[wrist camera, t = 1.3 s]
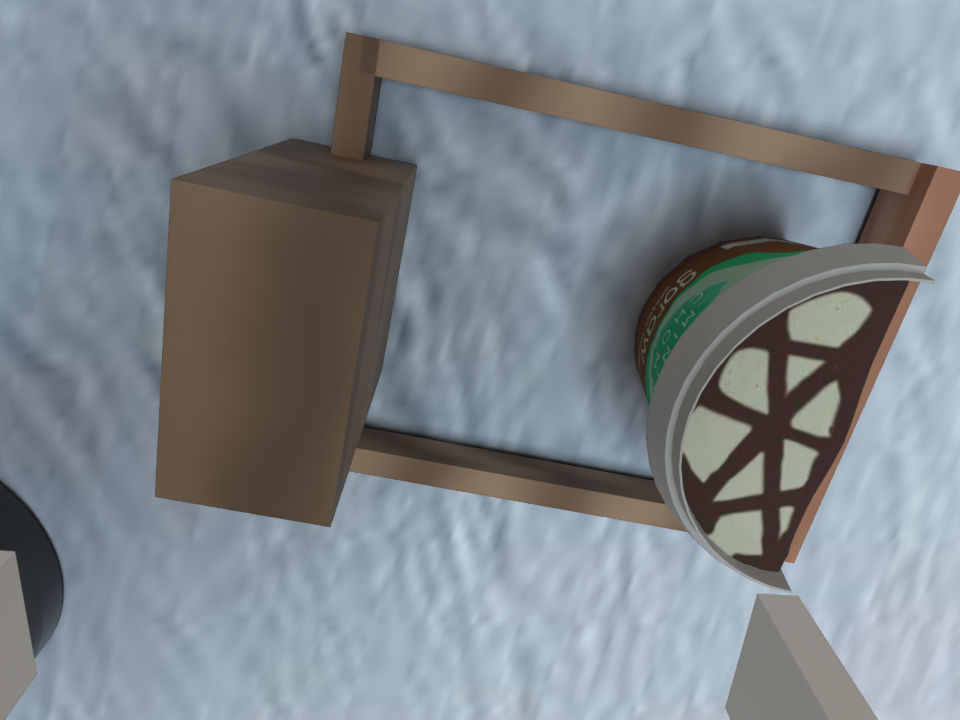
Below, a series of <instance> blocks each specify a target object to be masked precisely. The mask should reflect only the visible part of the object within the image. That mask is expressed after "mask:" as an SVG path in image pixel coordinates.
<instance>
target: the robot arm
mask: <svg viewBox="0 0 960 720" xmlns="http://www.w3.org/2000/svg"><path fill="white" fill-rule="evenodd" d="M62 597H63V590H62V579H61V573H60V569H59V565H58V562H57V559H56V556H55V554H54V551H53V549H52V547H51V545H50V543H49V541H48V539H47V537H46V535H45V534H44V532H43V530H42V529H41V527H40V526H39V524H38V523H37V522H36V520H35V519H34V518H33V516H32V515H31V514H30V513H29V511H28V510H27V509H26V508H25V507H24V506H23V505H22V504H21V503H20V501H19V500H18V499H16V498H15V497H14V496H13V495H12V494H11V493H10V492H9V491H8V490H7V489H6V488H4V487H3V486H2V485H1V484H0V720H5V718H6V717H7V716H8V714H9V713H10V711H11V710H12V709H13V707H14V706H15V704H16V703H17V702H18V700H19V699H20V697H21V696H22V695H23V693H24V692H25V690H26V689H27V688H28V686H29V685H30V683H31V682H32V681H33V679H34V678H35V676H36V675H37V671H36V666H35V660H34V658H35V657H36V656H37V654H38V653H39V652H40V651H41V649H42V648H43V647H44V645H45V644H46V643H47V641H48V640H49V638H50V637H51V635H52V634H53V632H54V630H55V628H56V625H57V623H58V620H59V616H60V613H61V607H62ZM725 708H726V710H727V713H728V715H729V717H730V720H878V719H877V717H876V716H875V714H874V713H873V711H872V709H871V708H870V706H869V705H868V703H867V702H866V700H865V699H864V697H863V695H862V694H861V692H860V691H859V689H858V688H857V686H856V685H855V683H854V682H853V680H852V678H851V677H850V675H849V674H848V672H847V671H846V669H845V668H844V666H843V665H842V663H841V661H840V660H839V658H838V657H837V655H836V654H835V652H834V651H833V649H832V647H831V646H830V644H829V643H828V641H827V640H826V638H825V637H824V635H823V634H822V632H821V630H820V629H819V627H818V626H817V624H816V623H815V621H814V620H813V618H812V617H811V615H810V613H809V612H808V610H807V609H806V607H805V606H804V604H803V603H802V601H801V599H800V598H799V596H790V595H772V594H757V597H756V600H755V604H754V607H753V611H752V614H751V618H750V622H749V625H748V629H747V632H746V636H745V639H744V643H743V646H742V650H741V654H740V657H739V661H738V664H737V668H736V671H735V675H734V678H733V682H732V686H731V689H730V693H729V696H728V700H727V703H726V707H725Z"/></svg>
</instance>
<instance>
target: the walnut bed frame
mask: <svg viewBox="0 0 960 720" xmlns="http://www.w3.org/2000/svg"><path fill="white" fill-rule="evenodd" d="M382 78H387V79H391V80H396V81H400V82H405V83H409V84H414V85H418V86H423V87H427V88H431V89H436V90H440V91H445V92H449V93H454V94H458V95H463V96H467V97H472V98H476V99H481V100H485V101H490V102H494V103H499V104H503V105H508V106H512V107H516V108H521V109H525V110H530V111H534V112H539V113H543V114H548V115H552V116H557V117H561V118H566V119H570V120H575V121H579V122H584V123H588V124H593V125H597V126H602V127H606V128H610V129H615V130H619V131H624V132H628V133H633V134H637V135H642V136H646V137H651V138H655V139H660V140H664V141H669V142H673V143H678V144H682V145H687V146H691V147H696V148H700V149H704V150H709V151H713V152H718V153H722V154H727V155H731V156H736V157H740V158H745V159H749V160H754V161H758V162H763V163H767V164H772V165H776V166H781V167H785V168H790V169H794V170H798V171H803V172H807V173H812V174H816V175H821V176H825V177H830V178H834V179H839V180H843V181H848V182H852V183H857V184H861V185H866V186H870V187H875V188H879V189H880V191H879V193H878V196H877V198H876V201H875V203H874V206H873V208H872V210H871V213H870V215H869V218H868V220H867V223H866V225H865V228H864V230H863V233H862V235H861V237H860V240H859V242H858V244H872V243H876V244H884V245H892V246H900V247H905V248H906V249H907V250H908V251H909V252H911V253H912V254H913V255H914V256H915V257H916V258H917V259H918V260H919V261H921V262H922V263H923V264H924V265H925V266H926V268H927V265H928V263H929V261H930V259H931V256H932V254H933V252H934V250H935V248H936V245H937V243H938V241H939V239H940V236H941V234H942V232H943V230H944V227H945V225H946V223H947V221H948V219H949V216H950V214H951V212H952V210H953V207H954V205H955V203H956V201H957V198H958V196H959V194H960V171H957V170H952V169H948V168H944V167H939V166H934V165H929V164H924V163H919V162H915V161H911V160H906V159H902V158H897V157H893V156H889V155H884V154H880V153H875V152H871V151H867V150H862V149H858V148H853V147H849V146H845V145H840V144H836V143H831V142H827V141H823V140H818V139H814V138H809V137H805V136H801V135H796V134H792V133H787V132H783V131H779V130H774V129H770V128H765V127H761V126H757V125H752V124H748V123H744V122H739V121H735V120H730V119H726V118H722V117H717V116H713V115H708V114H704V113H700V112H695V111H691V110H686V109H682V108H678V107H673V106H669V105H664V104H660V103H656V102H651V101H647V100H642V99H638V98H634V97H629V96H625V95H620V94H616V93H612V92H607V91H603V90H598V89H594V88H590V87H585V86H581V85H576V84H572V83H568V82H563V81H559V80H555V79H550V78H546V77H541V76H537V75H533V74H528V73H524V72H519V71H515V70H511V69H506V68H502V67H497V66H493V65H489V64H484V63H480V62H475V61H471V60H467V59H462V58H458V57H453V56H449V55H445V54H440V53H436V52H431V51H427V50H423V49H418V48H414V47H409V46H405V45H401V44H396V43H392V42H387V41H383V40H379V39H374V38H370V37H365V36H361V35H357V34H352V33H348V32H346V38H345V46H344V53H343V61H342V69H341V76H340V84H339V92H338V100H337V107H336V115H335V123H334V131H333V138H332V146H331V147H329V146H324V145H320V144H315V143H310V142H306V141H301V140H296V139H290V140H287V141H284V142H281V143H278V144H275V145H272V146H269V147H266V148H263V149H260V150H257V151H254V152H251V153H248V154H245V155H242V156H239V157H236V158H233V159H230V160H227V161H224V162H221V163H218V164H215V165H212V166H209V167H206V168H203V169H200V170H197V171H194V172H191V173H188V174H185V175H182V176H179V177H176V178H173V179H171V195H170V214H169V233H168V253H167V272H166V292H165V311H164V331H163V350H162V369H161V389H160V408H159V428H158V447H157V467H156V486H155V497H159V498H165V499H171V500H176V501H182V502H188V503H194V504H199V505H205V506H211V507H217V508H223V509H228V510H234V511H240V512H246V513H251V514H257V515H263V516H269V517H275V518H280V519H286V520H292V521H298V522H303V523H309V524H315V525H321V526H327V527H331V524H332V521H333V518H334V514H335V511H336V508H337V505H338V502H339V499H340V496H341V493H342V490H343V487H344V484H345V481H346V478H347V475H348V472H349V471H351V472H356V473H362V474H368V475H373V476H379V477H384V478H390V479H395V480H401V481H407V482H412V483H418V484H423V485H429V486H434V487H440V488H446V489H451V490H457V491H462V492H468V493H473V494H479V495H485V496H490V497H496V498H501V499H507V500H512V501H518V502H523V503H529V504H535V505H540V506H546V507H551V508H557V509H562V510H568V511H574V512H579V513H585V514H590V515H596V516H601V517H607V518H613V519H618V520H624V521H629V522H635V523H640V524H646V525H652V526H657V527H663V528H668V529H674V530H679V531H685V532H687V531H686V529H685V528H684V527H683V526H682V525H681V524H680V523H679V521H678V520H677V519H676V518H675V516H674V515H673V514H672V512H671V511H670V510H669V509H668V507H667V506H666V504H665V502H664V500H663V498H662V496H661V494H660V493H659V491H658V489H657V487H656V484H655V481H652V480H647V479H641V478H636V477H631V476H625V475H620V474H614V473H609V472H604V471H598V470H593V469H587V468H582V467H576V466H571V465H566V464H560V463H555V462H549V461H544V460H539V459H533V458H528V457H522V456H517V455H511V454H506V453H501V452H495V451H490V450H484V449H479V448H474V447H468V446H463V445H457V444H452V443H446V442H441V441H436V440H430V439H425V438H419V437H414V436H409V435H403V434H398V433H392V432H387V431H382V430H376V429H371V428H365V427H363V426H364V423H365V420H366V417H367V414H368V411H369V408H370V404H371V401H372V398H373V395H374V392H375V389H376V386H377V383H378V380H379V377H380V374H381V371H382V366H383V361H384V355H385V349H386V343H387V337H388V332H389V326H390V320H391V314H392V308H393V303H394V297H395V291H396V285H397V280H398V274H399V268H400V262H401V256H402V251H403V245H404V239H405V233H406V228H407V222H408V216H409V210H410V204H411V199H412V193H413V187H414V181H415V176H416V170H417V165H413V164H408V163H403V162H399V161H394V160H389V159H385V158H380V157H375V156H371V155H370V153H371V146H372V139H373V133H374V126H375V119H376V113H377V106H378V99H379V92H380V86H381V79H382ZM925 270H926V269H925ZM924 272H925V271H924ZM923 274H924V273H923ZM919 283H920V282H917V281H910V282H909V284H908V286H907V288H906V290H905V292H904V295H903V297H902V299H901V301H900V303H899V305H898V308H897V310H896V312H895V314H894V316H893V319H892V321H891V323H890V325H889V328H888V330H887V332H886V334H885V336H884V339H883V341H882V343H881V345H880V348H879V350H878V352H877V354H876V357H875V359H874V361H873V363H872V366H871V368H870V371H869V374H868V377H867V379H866V382H865V385H864V388H863V390H862V393H861V397H860V400H859V403H858V406H857V409H856V412H855V415H854V418H853V420H852V423H851V426H850V428H849V431H848V434H847V436H846V439H845V442H844V444H843V446H842V448H841V450H840V451H839V453H838V455H837V457H836V459H835V460H834V462H833V464H832V466H831V468H830V469H829V471H828V473H827V474H826V476H825V478H824V479H823V481H822V483H821V484H820V486H819V488H818V489H817V491H816V493H815V494H814V496H813V498H812V500H811V502H810V503H809V505H808V507H807V509H806V511H805V514H804V516H803V518H802V520H801V522H800V524H799V526H798V528H797V531H796V533H795V535H794V538H793V540H792V543H791V546H790V550H789V554H788V556H787V557H786V559H785V560H784V561H785V562H790V563H794V562H795V560H796V558H797V555H798V553H799V551H800V549H801V546H802V544H803V542H804V540H805V538H806V535H807V533H808V531H809V529H810V526H811V524H812V522H813V520H814V517H815V515H816V513H817V511H818V509H819V506H820V504H821V502H822V500H823V497H824V495H825V493H826V491H827V488H828V486H829V484H830V482H831V480H832V477H833V475H834V473H835V471H836V468H837V466H838V464H839V462H840V459H841V457H842V455H843V453H844V451H845V448H846V446H847V444H848V442H849V439H850V437H851V435H852V433H853V430H854V428H855V426H856V424H857V422H858V419H859V417H860V415H861V413H862V410H863V408H864V406H865V404H866V401H867V399H868V397H869V395H870V393H871V390H872V388H873V386H874V384H875V381H876V379H877V377H878V375H879V372H880V370H881V368H882V366H883V364H884V361H885V359H886V357H887V355H888V352H889V350H890V348H891V346H892V343H893V341H894V339H895V337H896V335H897V332H898V330H899V328H900V326H901V323H902V321H903V319H904V317H905V314H906V312H907V310H908V308H909V306H910V303H911V301H912V299H913V297H914V294H915V292H916V290H917V288H918V285H919Z"/></svg>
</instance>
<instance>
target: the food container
mask: <svg viewBox="0 0 960 720" xmlns="http://www.w3.org/2000/svg"><path fill="white" fill-rule="evenodd" d="M925 269H926V266H925V265H924V264H923V263H922V262H921V261H919V260H918V259H917V258H916V257H915V256H914V255H913V254H912V253H911V252H909V251H908V250H907V249H906V248H905V247H900V246H892V245H884V244H876V243H872V244H842V245H836V246H830V247H825V248H815V247H812V246H808V245H804V244H800V243H796V242H792V241H788V240H783V239H775V238H768V237H760V236H756V237H749V238H742V239H736V240H729V241H722V242H719V243H717V244H715V245H713V246H710V247H708V248H706V249H704V250H702V251H700V252H697V253H695V254H693V255H691V256H689V257H687V258H686V259H685V260H683V261H682V262H681V263H680V264H679V265H678V266H677V267H675V268H674V269H673V270H672V271H671V272H670V273H669V274H667V275H666V276H665V277H664V278H663V279H662V280H661V281H660V282H659V283H658V285H657V286H656V288H655V289H654V291H653V292H652V294H651V295H650V297H649V298H648V300H647V302H646V303H645V305H644V308H643V310H642V313H641V315H640V317H639V321H638V325H637V329H636V334H635V358H636V366H637V369H638V372H639V375H640V379H641V382H642V385H643V388H644V391H645V394H646V397H647V400H648V403H649V406H650V407H649V411H648V421H647V436H646V441H647V450H648V458H649V465H650V468H651V471H652V475H653V478H654V481H655V484H656V487H657V489H658V491H659V493H660V494H661V496H662V498H663V500H664V502H665V504H666V506H667V507H668V509H669V510H670V511H671V512H672V514H673V515H674V516H675V518H676V519H677V520H678V521H679V523H680V524H681V525H682V526H683V527H684V528H685V529H686V531H687V532H688V533H689V534H690V535H691V536H692V537H693V538H694V539H695V540H696V541H697V543H698V544H699V545H701V546H702V547H703V548H704V549H705V550H706V551H707V552H708V553H709V554H711V555H712V556H713V557H714V558H715V559H717V560H718V561H720V562H721V563H723V564H724V565H726V566H728V567H729V568H731V569H732V570H734V571H736V572H738V573H740V574H741V575H743V576H744V577H746V578H748V579H750V580H752V581H755V582H757V583H759V584H762V585H764V586H766V587H769V588H772V589H776V590H780V591H784V592H788V593H791V589H790V587H789V585H788V583H787V581H786V579H785V577H784V575H783V573H782V570H781V567H782V565H783V562H784V560H785V559H786V557H787V556H788V554H789V550H790V546H791V543H792V540H793V538H794V535H795V533H796V531H797V528H798V526H799V524H800V522H801V520H802V518H803V516H804V514H805V511H806V509H807V507H808V505H809V503H810V502H811V500H812V498H813V496H814V494H815V493H816V491H817V489H818V488H819V486H820V484H821V483H822V481H823V479H824V478H825V476H826V474H827V473H828V471H829V469H830V468H831V466H832V464H833V462H834V460H835V459H836V457H837V455H838V453H839V451H840V450H841V448H842V446H843V444H844V442H845V439H846V436H847V434H848V431H849V428H850V426H851V423H852V420H853V418H854V415H855V412H856V409H857V406H858V403H859V400H860V397H861V393H862V390H863V388H864V385H865V382H866V379H867V377H868V374H869V371H870V368H871V366H872V363H873V361H874V359H875V357H876V354H877V352H878V350H879V348H880V345H881V343H882V341H883V339H884V336H885V334H886V332H887V330H888V328H889V325H890V323H891V321H892V319H893V316H894V314H895V312H896V310H897V308H898V305H899V303H900V301H901V299H902V297H903V295H904V292H905V290H906V288H907V286H908V284H909V282H910V281H917V282H925V283H935V280H933V279H931V278H929V277H928V276H926V275H924V274H923V273H924V271H925Z"/></svg>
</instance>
